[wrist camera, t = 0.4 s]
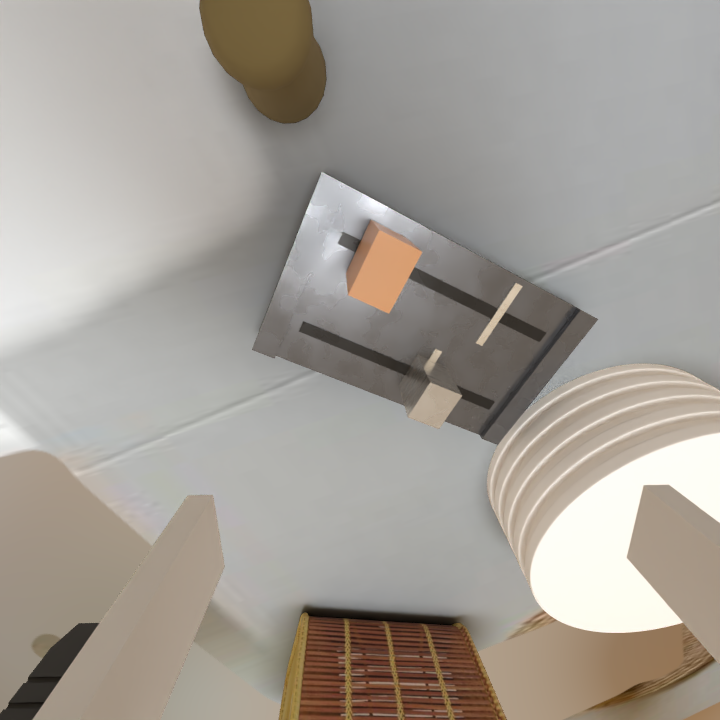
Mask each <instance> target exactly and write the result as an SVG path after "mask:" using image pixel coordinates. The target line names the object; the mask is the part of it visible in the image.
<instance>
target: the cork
mask: <svg viewBox="0 0 720 720" xmlns="http://www.w3.org/2000/svg"><path fill="white" fill-rule="evenodd" d="M199 9H200V14H201V20H202V25H203V30H204V35H205V37H206V40H207V42H208V44H209V46H210V49H211V51H212V53H213V55H214V57H215V58H216V59H217V61H218V62H219V63H220V64H221V66H222V67H223V68H224V70H225V71H226V72H227V73H228V74H229V75H231V76H232V77H233V78H235V79H236V80H237V81H239V82H240V83H241V84H243V86H244V89H245V91H246V93H247V96H248V98H249V99H250V101H251V102H252V103H253V105H254V106H255V107H256V108H257V110H258V111H259V112H261V113H262V114H263V115H265V116H266V117H267V118H269V119H270V120H274V121H277V122H280V123H296V122H299V121H301V120H303V119H305V118H307V117H308V116H309V115H310V114H311V113H312V112H313V111H314V110H315V109H316V108H317V107H318V105H319V103H320V101H321V99H322V97H323V95H324V90H325V85H326V66H325V60H324V57H323V54H322V51H321V48H320V46H319V44H318V43H317V41H316V40H315V38H314V36H313V25H312V13H311V7H310V4H309V1H308V0H200V7H199Z"/></svg>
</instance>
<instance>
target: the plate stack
mask: <svg viewBox="0 0 720 720" xmlns="http://www.w3.org/2000/svg"><path fill="white" fill-rule="evenodd" d="M644 485H670V486H671V487H673V488H674V489H675V490H677V491H678V492H679V493H681V494H682V495H683V496H685V497H686V498H687V499H689V500H690V501H691V502H693V503H694V504H695V505H697V506H698V507H699V508H700V509H702V510H703V511H704V512H706V513H707V514H708V515H710V516H711V517H712V518H714V519H715V520H716V521H718V522H719V523H720V390H718V389H717V388H715V387H713V386H711V385H709V384H707V383H705V382H704V381H702V380H700V379H699V378H697V377H695V376H693V375H691V374H689V373H687V372H685V371H683V370H680V369H677V368H674V367H670V366H665V365H659V364H628V365H621V366H615V367H610V368H606V369H602V370H599V371H595V372H592V373H589V374H587V375H584V376H581V377H579V378H577V379H574V380H572V381H570V382H568V383H566V384H564V385H562V386H560V387H559V388H557V389H555V390H553V391H552V392H550V393H549V394H547V395H546V396H544V397H543V398H541V399H540V400H539V401H537V402H536V403H535V404H533V405H532V406H531V407H530V408H529V409H528V410H526V411H525V412H524V413H523V414H522V415H521V417H520V418H519V419H518V420H517V422H516V423H515V424H514V425H513V427H512V428H511V429H510V430H509V432H508V433H507V434H506V435H505V437H504V438H503V439H502V440H501V442H500V443H499V444H498V446H497V448H496V450H495V452H494V454H493V457H492V459H491V462H490V466H489V470H488V476H487V492H488V497H489V501H490V503H491V506H492V508H493V510H494V512H495V514H496V516H497V518H498V521H499V523H500V525H501V527H502V529H503V531H504V533H505V535H506V537H507V540H508V542H509V544H510V546H511V548H512V550H513V552H514V554H515V556H516V559H517V561H518V563H519V565H520V568H521V570H522V572H523V574H524V576H525V577H526V579H527V582H528V584H529V587H530V589H531V591H532V593H533V595H534V597H535V599H536V601H537V602H538V604H539V605H540V606H541V607H542V609H543V610H544V611H545V612H547V613H548V614H549V615H550V616H552V617H553V618H555V619H556V620H558V621H560V622H562V623H565V624H567V625H570V626H572V627H575V628H580V629H584V630H589V631H595V632H607V633H608V632H609V633H625V632H638V631H646V630H652V629H658V628H663V627H668V626H672V625H676V624H680V623H683V622H682V621H681V620H680V618H679V617H678V616H677V615H676V614H675V613H674V612H673V610H672V609H671V608H670V607H669V606H668V605H667V603H666V602H665V601H664V600H663V599H662V598H661V597H660V595H659V594H658V593H657V592H656V591H655V590H654V589H653V587H652V586H651V585H650V584H649V583H648V582H647V580H646V579H645V578H644V577H643V576H642V575H641V574H640V572H639V571H638V570H637V569H636V568H635V567H634V566H633V564H632V563H631V562H630V561H629V560H628V559H627V554H628V550H629V545H630V541H631V537H632V532H633V528H634V524H635V520H636V515H637V511H638V507H639V503H640V498H641V494H642V490H643V486H644Z"/></svg>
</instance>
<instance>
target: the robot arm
mask: <svg viewBox="0 0 720 720" xmlns="http://www.w3.org/2000/svg"><path fill="white" fill-rule="evenodd" d="M627 559H628V560H629V561H630V562H631V563H632V564H633V566H634V567H635V568H636V569H637V570H638V571H639V572H640V574H641V575H642V576H643V577H644V578H645V579H646V580H647V582H648V583H649V584H650V585H651V586H652V587H653V589H654V590H655V591H656V592H657V593H658V594H659V595H660V597H661V598H662V599H663V600H664V601H665V602H666V603H667V605H668V606H669V607H670V608H671V609H672V610H673V612H674V613H675V614H676V615H677V616H678V617H679V618H680V620H681V621H682V622H683V623H684V624H685V625H686V626H687V628H688V629H689V630H690V631H691V632H692V633H693V634H694V636H695V637H696V638H697V639H698V640H699V641H700V643H701V644H702V645H703V646H704V647H705V648H706V649H707V651H708V652H709V653H710V654H711V655H712V656H713V657H714V659H715V660H716V661H717V662H718V663H719V664H720V523H719V522H718V521H716V520H715V519H714V518H712V517H711V516H710V515H708V514H707V513H706V512H704V511H703V510H702V509H700V508H699V507H698V506H697V505H695V504H694V503H693V502H691V501H690V500H689V499H687V498H686V497H685V496H683V495H682V494H681V493H679V492H678V491H677V490H675V489H674V488H673V487H671V486H670V485H644V486H643V490H642V494H641V498H640V503H639V507H638V511H637V515H636V520H635V524H634V528H633V532H632V537H631V541H630V545H629V550H628V554H627ZM224 567H225V565H224V559H223V553H222V547H221V541H220V535H219V529H218V523H217V517H216V511H215V505H214V498H213V495H188V496H187V497H186V499H185V500H184V502H183V503H182V505H181V506H180V508H179V509H178V510H177V512H176V513H175V515H174V516H173V518H172V519H171V521H170V522H169V523H168V525H167V526H166V528H165V529H164V531H163V532H162V533H161V535H160V536H159V538H158V539H157V541H156V542H155V544H154V545H153V546H152V548H151V550H150V551H149V552H148V554H147V555H146V557H145V558H144V559H143V561H142V563H141V564H140V565H139V567H138V568H137V570H136V571H135V572H134V574H133V575H132V577H131V578H130V580H129V581H128V583H127V584H126V585H125V587H124V588H123V590H122V591H121V593H120V594H119V596H118V597H117V598H116V600H115V602H114V603H113V604H112V606H111V607H110V609H109V610H108V611H107V613H106V614H105V616H104V617H103V619H102V620H101V622H100V623H79V624H78V625H77V626H75V627H74V628H73V629H72V630H71V631H70V632H69V633H68V634H66V635H65V636H64V637H63V638H62V639H60V640H59V641H58V642H57V643H56V644H55V645H54V646H52V647H51V648H50V650H49V651H48V652H47V654H46V655H45V656H44V658H43V659H42V660H41V661H40V663H39V664H38V665H37V667H36V668H35V669H34V670H33V672H32V673H31V674H30V676H29V677H28V681H27V682H26V683H23V685H22V686H21V687H20V689H19V690H18V691H17V693H16V694H15V695H14V697H13V698H12V699H11V700H10V702H9V705H8V707H7V708H6V709H5V710H3V711H2V712H1V713H0V720H160V719H161V716H162V714H163V712H164V709H165V707H166V705H167V702H168V700H169V697H170V695H171V693H172V690H173V688H174V686H175V683H176V681H177V679H178V676H179V674H180V671H181V669H182V667H183V664H184V662H185V660H186V657H187V655H188V652H189V650H190V647H191V645H192V643H193V641H194V638H195V636H196V633H197V631H198V629H199V626H200V624H201V622H202V619H203V617H204V614H205V612H206V610H207V607H208V605H209V603H210V600H211V598H212V595H213V593H214V591H215V588H216V586H217V584H218V581H219V579H220V576H221V574H222V572H223V569H224Z"/></svg>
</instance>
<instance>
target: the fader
mask: <svg viewBox="0 0 720 720" xmlns="http://www.w3.org/2000/svg"><path fill="white" fill-rule="evenodd" d="M421 254H422V251H421V250H420V249H418V248H417V247H416V246H415V245H414V244H413V243H412V242H410V241H409V240H408V239H407V238H406V237H404V236H402V235H400V234H398V233H396V232H394V231H392V230H390V229H388V228H386V227H384V226H383V225H381V224H379V223H377V222H375V221H373V220H370V222H369V225H368V227H367V229H366V231H365V233H364V235H363V238H362V240H361V242H360V244H359V246H358V248H357V250H356V253H355V255H354V257H353V259H352V261H351V263H350V265H349V268H348V270H347V272H346V279H347V290H348V295H349V296H351V297H353V298H355V299H358V300H360V301H362V302H364V303H366V304H369V305H371V306H373V307H375V308H378V309H380V310H382V311H384V312H386V313H390V311H391V309H392V308H393V306H394V304H395V302H396V300H397V298H398V296H399V295H400V293H401V291H402V289H403V287H404V285H405V283H406V282H407V280H408V278H409V276H410V274H411V272H412V271H413V269H414V267H415V265H416V263H417V261H418V259H419V258H420V256H421Z"/></svg>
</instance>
